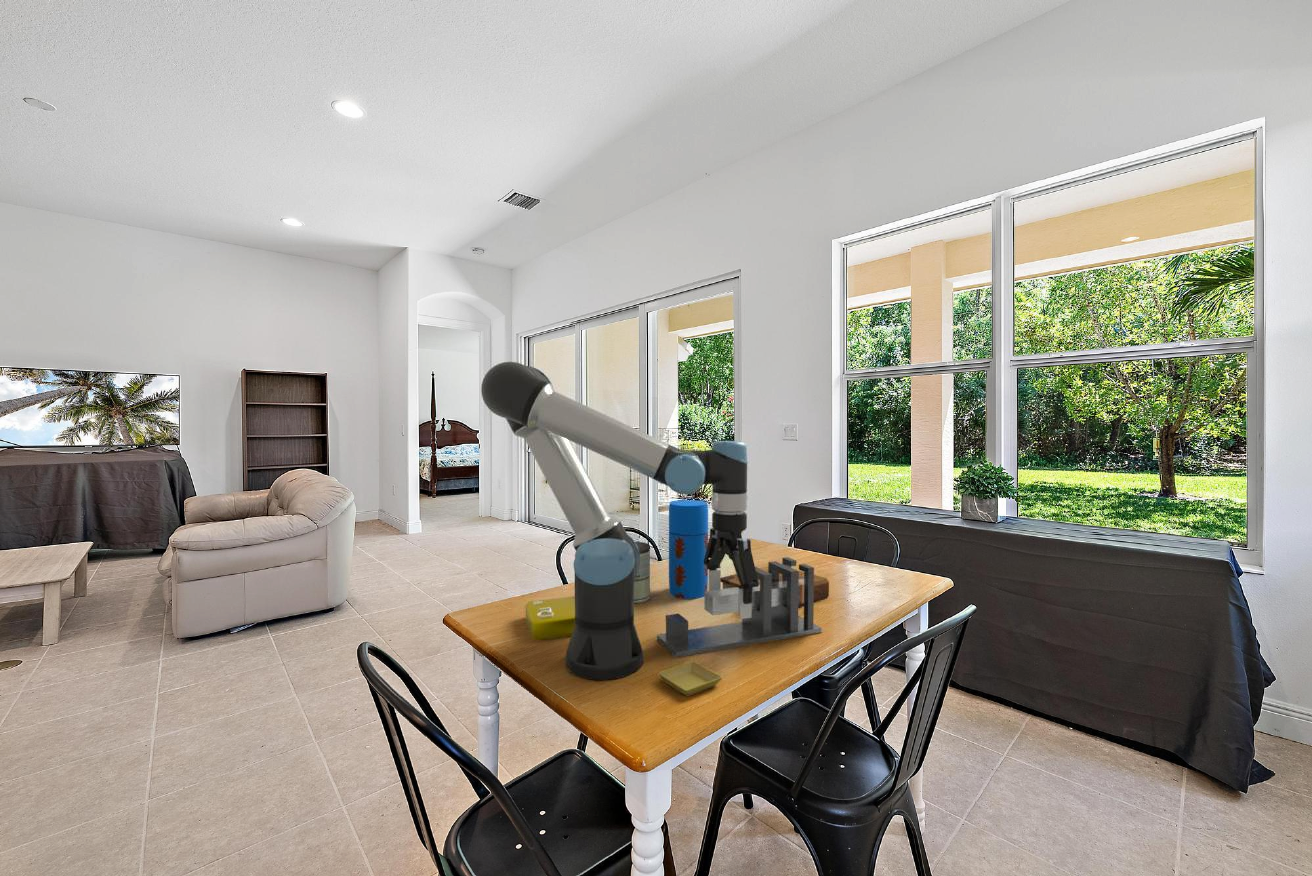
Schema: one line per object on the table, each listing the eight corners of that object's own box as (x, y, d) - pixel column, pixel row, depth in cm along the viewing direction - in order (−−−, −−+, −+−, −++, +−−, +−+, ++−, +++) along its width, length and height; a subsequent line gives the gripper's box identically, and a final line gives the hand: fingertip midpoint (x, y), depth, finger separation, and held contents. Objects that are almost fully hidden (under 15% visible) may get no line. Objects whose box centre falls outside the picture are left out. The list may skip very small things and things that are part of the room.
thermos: (661, 595, 152) (662, 504, 151) (678, 584, 161) (678, 499, 160) (698, 601, 146) (698, 507, 146) (713, 590, 156) (714, 501, 155)
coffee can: (604, 598, 149) (604, 546, 148) (628, 589, 157) (628, 539, 156) (634, 606, 143) (634, 551, 142) (657, 595, 151) (657, 544, 150)
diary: (773, 618, 136) (773, 595, 135) (719, 599, 150) (719, 578, 150) (828, 599, 150) (829, 577, 150) (774, 582, 164) (774, 563, 164)
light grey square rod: (713, 616, 118) (713, 596, 118) (704, 609, 122) (704, 590, 122) (813, 601, 128) (813, 583, 127) (802, 595, 132) (802, 578, 131)
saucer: (656, 682, 102) (656, 671, 102) (693, 670, 107) (693, 659, 107) (685, 702, 95) (685, 690, 95) (723, 688, 100) (723, 676, 100)
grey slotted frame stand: (675, 657, 112) (675, 584, 111) (657, 639, 121) (657, 571, 121) (821, 632, 125) (822, 566, 125) (794, 617, 134) (795, 556, 134)
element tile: (599, 633, 126) (599, 612, 125) (532, 642, 120) (532, 620, 120) (585, 611, 140) (585, 593, 139) (524, 619, 135) (524, 599, 134)
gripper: (776, 520, 111) (775, 624, 112) (717, 502, 134) (717, 589, 135) (743, 522, 108) (743, 629, 109) (689, 504, 131) (689, 592, 132)
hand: (728, 607), depth 122 cm, fingers open, 13 cm apart
